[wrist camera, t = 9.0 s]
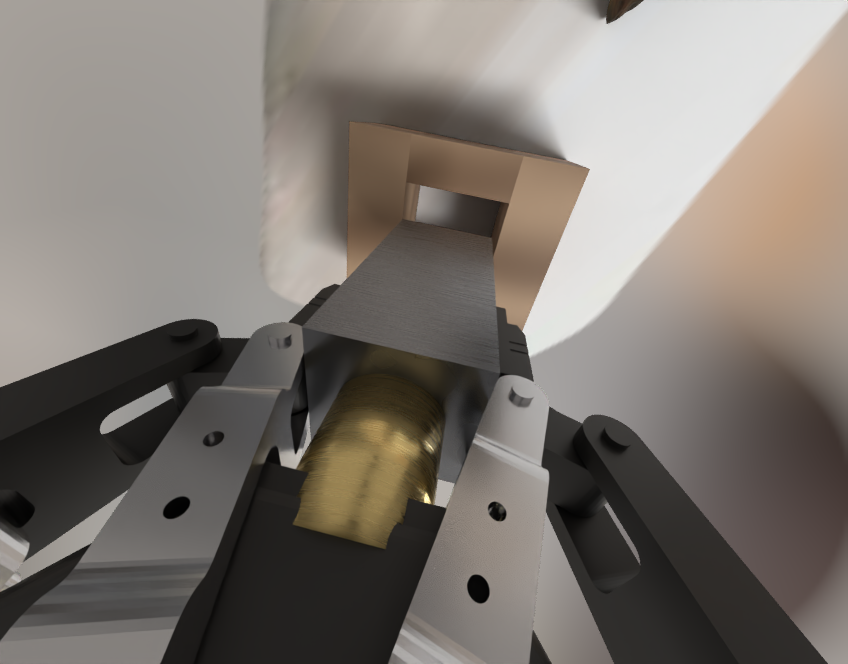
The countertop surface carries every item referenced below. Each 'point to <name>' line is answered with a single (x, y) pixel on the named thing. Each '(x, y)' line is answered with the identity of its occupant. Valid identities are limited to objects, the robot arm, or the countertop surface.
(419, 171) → the housing
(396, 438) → the bit
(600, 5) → the countertop surface
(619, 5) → the dark brown rod
